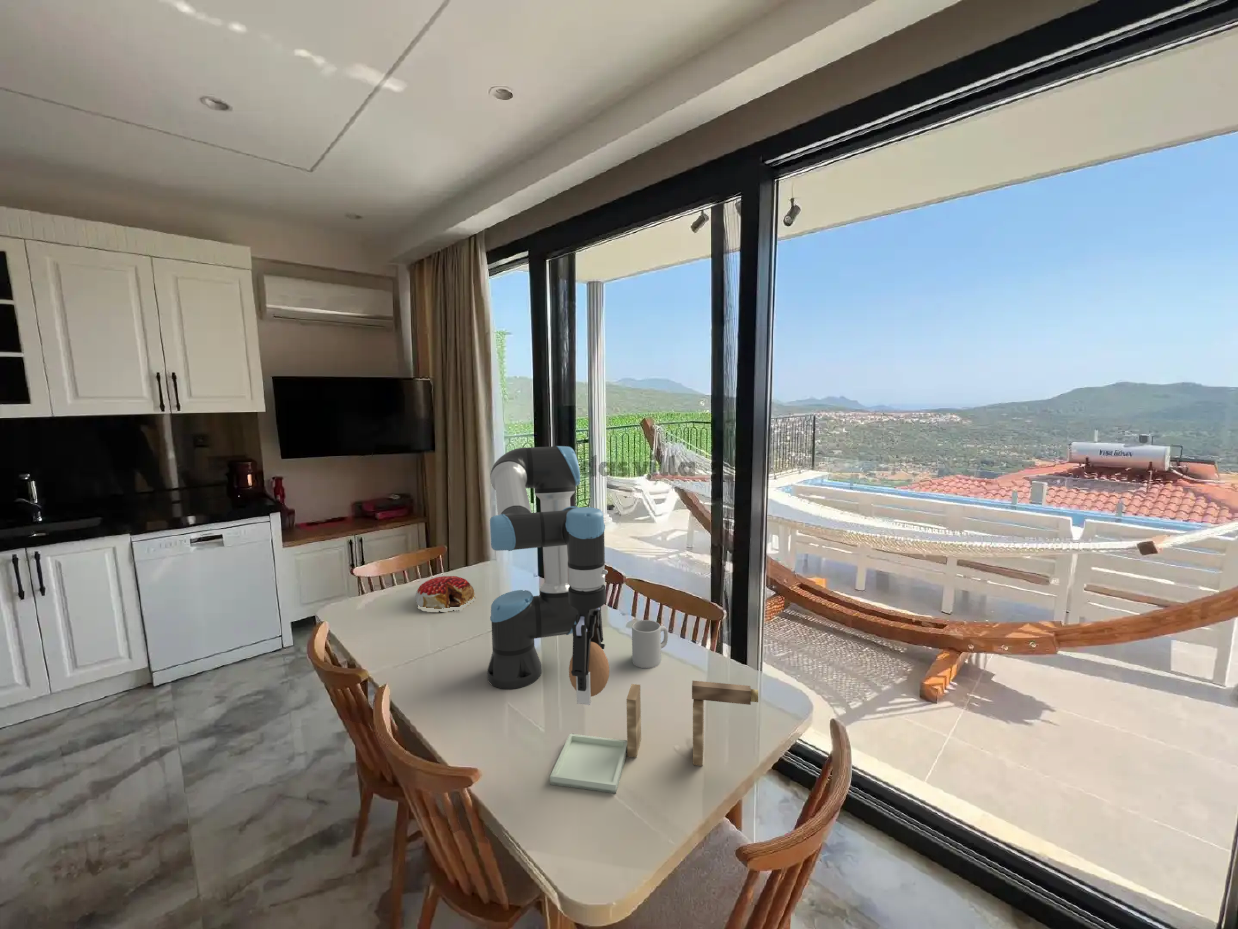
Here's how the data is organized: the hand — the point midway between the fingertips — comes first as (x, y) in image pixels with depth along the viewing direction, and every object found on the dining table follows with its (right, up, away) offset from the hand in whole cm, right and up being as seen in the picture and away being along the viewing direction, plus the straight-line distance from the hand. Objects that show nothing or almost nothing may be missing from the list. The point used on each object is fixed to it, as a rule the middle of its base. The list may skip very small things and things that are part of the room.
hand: (589, 690), depth 105 cm
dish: (0, -17, +2) cm, 17 cm away
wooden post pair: (+16, -16, +6) cm, 24 cm away
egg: (0, -1, 0) cm, 1 cm away
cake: (-60, -8, +92) cm, 110 cm away
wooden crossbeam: (+28, -3, +2) cm, 28 cm away
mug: (+16, -11, +46) cm, 50 cm away
